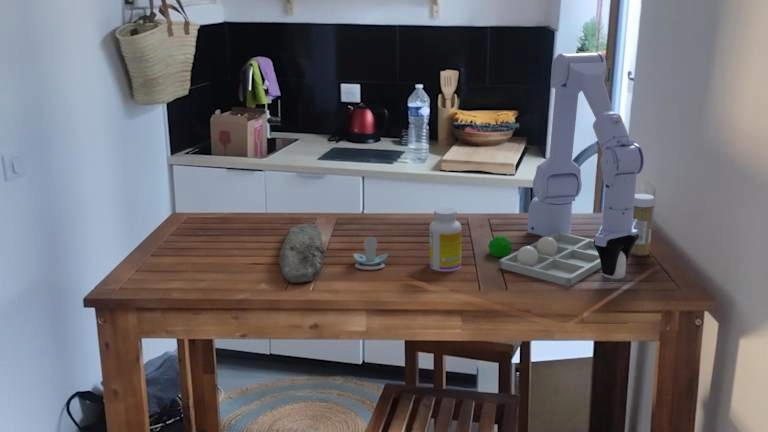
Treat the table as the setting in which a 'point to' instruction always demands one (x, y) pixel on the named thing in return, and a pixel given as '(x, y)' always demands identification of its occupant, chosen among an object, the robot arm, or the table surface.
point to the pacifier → (370, 256)
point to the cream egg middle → (547, 246)
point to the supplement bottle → (445, 240)
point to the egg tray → (560, 261)
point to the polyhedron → (500, 247)
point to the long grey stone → (302, 253)
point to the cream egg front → (527, 256)
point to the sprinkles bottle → (643, 223)
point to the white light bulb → (619, 268)
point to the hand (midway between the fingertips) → (613, 270)
